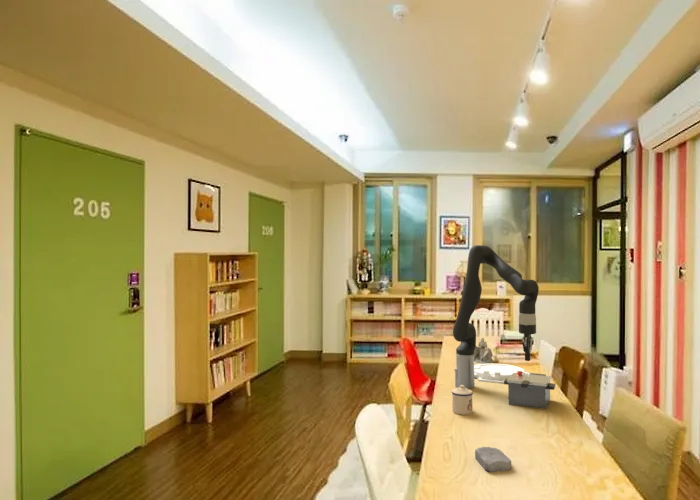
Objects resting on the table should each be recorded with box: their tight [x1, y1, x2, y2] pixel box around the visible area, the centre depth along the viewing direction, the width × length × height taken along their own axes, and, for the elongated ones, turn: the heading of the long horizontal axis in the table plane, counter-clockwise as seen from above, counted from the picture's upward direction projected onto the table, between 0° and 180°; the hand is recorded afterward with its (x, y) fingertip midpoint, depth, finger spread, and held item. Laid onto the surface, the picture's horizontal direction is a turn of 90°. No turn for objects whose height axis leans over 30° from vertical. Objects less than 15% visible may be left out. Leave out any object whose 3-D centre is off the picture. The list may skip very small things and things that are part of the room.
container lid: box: [474, 362, 526, 385], centre depth 283 cm, size 30×35×6 cm
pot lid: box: [507, 371, 552, 388], centre depth 228 cm, size 17×25×3 cm
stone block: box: [474, 446, 512, 473], centre depth 163 cm, size 12×5×10 cm
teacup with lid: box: [451, 385, 474, 416], centre depth 219 cm, size 12×9×12 cm
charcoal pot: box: [504, 378, 556, 410], centre depth 231 cm, size 22×16×10 cm
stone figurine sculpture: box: [474, 337, 494, 364], centre depth 320 cm, size 16×16×15 cm
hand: (527, 360), depth 227 cm, fingers closed
